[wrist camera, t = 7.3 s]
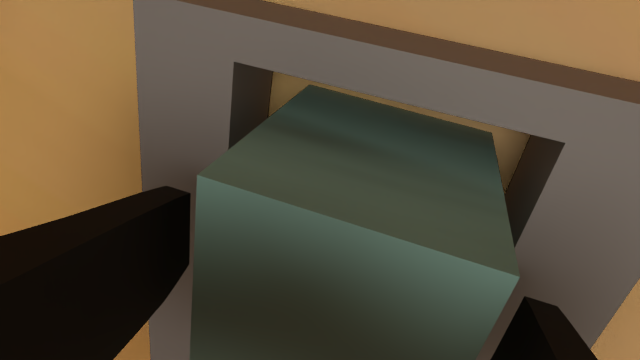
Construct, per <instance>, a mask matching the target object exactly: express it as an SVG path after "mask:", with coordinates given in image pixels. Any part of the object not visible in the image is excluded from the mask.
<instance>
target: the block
mask: <svg viewBox="0 0 640 360" xmlns="http://www.w3.org/2000/svg"><path fill="white" fill-rule="evenodd" d="M519 278H520V274H519V269H518V264H517V259H516V253H515V248H514V243H513V238H512V233H511V228H510V223H509V218H508V213H507V207H506V202H505V197H504V192H503V187H502V182H501V177H500V172H499V166H498V161H497V156H496V151H495V146H494V141H493V136H492V133H491V132H487V131H483V130H479V129H475V128H472V127H468V126H464V125H460V124H457V123H453V122H449V121H445V120H442V119H438V118H434V117H430V116H427V115H423V114H419V113H415V112H412V111H408V110H404V109H400V108H396V107H393V106H389V105H385V104H381V103H378V102H374V101H370V100H366V99H363V98H359V97H355V96H351V95H348V94H344V93H340V92H336V91H333V90H329V89H325V88H321V87H318V86H314V85H308V86H307V87H306V88H305V89H304V90H302V91H301V92H300V93H299V94H297V95H296V96H295V97H294V98H292V99H291V100H290V101H289V102H287V103H286V104H285V105H284V106H282V107H281V108H280V109H279V110H277V111H276V112H275V113H274V114H272V115H271V116H270V117H269V118H267V119H266V120H265V121H264V122H262V123H261V124H260V125H259V126H257V127H256V128H255V129H254V130H252V131H251V132H250V133H249V134H248V135H246V136H245V137H244V138H243V139H241V140H240V141H239V142H238V143H236V144H235V145H234V146H233V147H231V148H230V149H229V150H228V151H226V152H225V153H224V154H223V155H221V156H220V157H219V158H218V159H216V160H215V161H214V162H213V163H211V164H210V165H209V166H208V167H206V168H205V169H204V170H203V171H201V172H200V173H199V174H198V175H197V191H196V215H195V239H194V263H193V287H192V311H191V335H190V359H189V360H476V358H477V356H478V354H479V352H480V351H481V349H482V347H483V345H484V343H485V341H486V339H487V338H488V336H489V334H490V332H491V330H492V328H493V326H494V325H495V323H496V321H497V319H498V317H499V315H500V313H501V312H502V310H503V308H504V306H505V304H506V302H507V300H508V299H509V297H510V295H511V293H512V291H513V289H514V287H515V286H516V284H517V282H518V280H519Z"/></svg>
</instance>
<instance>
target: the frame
mask: <svg viewBox="0 0 640 360" xmlns="http://www.w3.org/2000/svg"><path fill="white" fill-rule="evenodd" d="M133 9H134V30H135V50H136V70H137V91H138V111H139V131H140V152H141V172H142V192H145V191H148V190H151V189H155V188H159V187H163V186H169V187H173V188H176V189H179V190H182V191H186V192H189V193H191V198H190V259H189V266H188V267H187V269H186V270H185V272H184V273H183V275H182V276H181V278H180V279H179V281H178V282H177V284H176V285H175V287H174V288H173V290H172V291H171V293H170V294H169V295H168V297H167V298H166V300H165V301H164V302H163V303H162V305H161V306H160V307H159V308H158V309H157V310H156V312H155V313H154V314H153V315H152V316H151V317H150V318H149V335H150V355H151V360H189V359H190V335H191V311H192V287H193V263H194V239H195V215H196V191H197V175H198V174H199V173H200V172H201V171H203V170H204V169H205V168H206V167H208V166H209V165H210V164H211V163H213V162H214V161H215V160H216V159H218V158H219V157H220V156H221V155H223V154H224V153H225V152H226V151H228V150H229V149H230V148H231V147H233V146H234V145H235V144H236V143H238V142H239V141H240V140H241V139H243V138H244V137H245V136H246V135H248V134H249V133H250V132H251V131H252V130H254V129H255V128H256V127H257V126H259V125H260V124H261V123H262V122H264V121H265V120H266V119H267V118H268V109H269V100H270V91H271V81H272V72H273V71H275V72H279V73H283V74H287V75H291V76H295V77H299V78H303V79H307V80H311V81H315V82H319V83H323V84H328V85H332V86H336V87H340V88H344V89H348V90H352V91H356V92H360V93H364V94H368V95H372V96H376V97H381V98H385V99H389V100H393V101H397V102H401V103H405V104H409V105H413V106H417V107H421V108H425V109H429V110H433V111H438V112H442V113H446V114H450V115H454V116H458V117H462V118H466V119H470V120H474V121H478V122H482V123H486V124H490V125H495V126H499V127H503V128H507V129H511V130H515V131H519V132H523V133H527V134H531V136H530V139H529V141H528V143H527V146H526V148H525V150H524V153H523V155H522V157H521V159H520V162H519V164H518V166H517V169H516V171H515V173H514V175H513V178H512V180H511V182H510V185H509V187H508V189H507V192H506V194H505V196H504V197H505V202H506V207H507V213H508V218H509V223H510V228H511V233H512V238H513V243H514V248H515V253H516V259H517V264H518V269H519V274H520V278H519V280H518V282H517V284H516V286H515V287H514V289H513V291H512V293H511V295H510V297H509V299H508V300H507V302H506V304H505V306H504V308H503V310H502V312H501V313H500V315H499V317H498V319H497V321H496V323H495V325H494V326H493V328H492V330H491V332H490V334H489V336H488V338H487V339H486V341H485V343H484V345H483V347H482V349H481V351H480V352H479V354H478V356H477V358H476V360H491V358H492V356H493V354H494V352H495V350H496V349H497V347H498V345H499V343H500V341H501V339H502V337H503V335H504V334H505V332H506V330H507V328H508V326H509V324H510V322H511V320H512V319H513V317H514V315H515V313H516V311H517V309H518V307H519V305H520V303H521V302H522V300H523V298H524V296H526V297H529V298H533V299H536V300H539V301H542V302H546V303H549V304H552V305H555V306H558V307H559V309H560V310H561V311H562V312H563V314H564V315H565V316H566V317H567V319H568V320H569V321H570V323H571V324H572V325H573V327H574V328H575V329H576V331H577V332H578V334H579V335H580V336H581V338H582V339H583V340H584V342H585V343H586V344H587V346H588V347H589V349H591V347H592V346H593V344H594V343H595V342H596V340H597V339H598V337H599V336H600V334H601V333H602V332H603V330H604V329H605V327H606V326H607V324H608V323H609V321H610V320H611V319H612V317H613V316H614V314H615V313H616V311H617V310H618V308H619V307H620V306H621V304H622V303H623V301H624V300H625V298H626V297H627V295H628V294H629V293H630V291H631V290H632V288H633V287H634V285H635V284H636V282H637V281H638V280H639V278H640V82H636V81H632V80H627V79H623V78H618V77H613V76H609V75H604V74H599V73H595V72H590V71H586V70H581V69H576V68H572V67H567V66H562V65H558V64H553V63H549V62H544V61H539V60H535V59H530V58H525V57H521V56H516V55H512V54H507V53H502V52H498V51H493V50H488V49H484V48H479V47H475V46H470V45H465V44H461V43H456V42H451V41H447V40H442V39H437V38H433V37H428V36H424V35H419V34H414V33H410V32H405V31H400V30H396V29H391V28H387V27H382V26H377V25H373V24H368V23H363V22H359V21H354V20H350V19H345V18H340V17H336V16H331V15H326V14H322V13H317V12H313V11H308V10H303V9H299V8H294V7H289V6H285V5H280V4H276V3H271V2H266V1H262V0H133Z"/></svg>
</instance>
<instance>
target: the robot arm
mask: <svg viewBox="0 0 640 360" xmlns="http://www.w3.org/2000/svg"><path fill="white" fill-rule="evenodd" d="M190 198H191V193H189V192H186V191H182V190H179V189H176V188H173V187H169V186H163V187H159V188H155V189H151V190H148V191H145V192H141V193H138V194H135V195H132V196H129V197H126V198H123V199H120V200H117V201H114V202H111V203H108V204H105V205H102V206H99V207H96V208H92V209H89V210H86V211H83V212H80V213H77V214H74V215H71V216H68V217H65V218H61V219H58V220H55V221H51V222H48V223H44V224H41V225H38V226H34V227H31V228H27V229H24V230H20V231H17V232H14V233H10V234H7V235H3V236H0V360H113V359H114V358H115V357H116V356H117V355H118V353H119V352H120V351H121V350H122V349H123V348H124V347H125V346H126V344H127V343H128V342H129V341H130V340H131V339H132V338H133V337H134V335H135V334H136V333H137V332H138V331H139V330H140V329H141V328H142V326H143V325H144V324H145V323H146V322H147V321H148V320H149V318H150V317H151V316H152V315H153V314H154V313H155V312H156V310H157V309H158V308H159V307H160V306H161V305H162V303H163V302H164V301H165V300H166V298H167V297H168V295H169V294H170V293H171V291H172V290H173V288H174V287H175V285H176V284H177V282H178V281H179V279H180V278H181V276H182V275H183V273H184V272H185V270H186V269H187V267H188V266H189V259H190ZM491 360H598V359H597V358H596V357H595V355H594V354H593V353H592V351H591V350H590V349H589V347H588V346H587V344H586V343H585V342H584V340H583V339H582V338H581V336H580V335H579V334H578V332H577V331H576V329H575V328H574V327H573V325H572V324H571V323H570V321H569V320H568V319H567V317H566V316H565V315H564V314H563V312H562V311H561V310H560V309H559V307H558V306H555V305H552V304H549V303H546V302H542V301H539V300H536V299H533V298H529V297H526V296H524V298H523V300H522V302H521V303H520V305H519V307H518V309H517V311H516V313H515V315H514V317H513V319H512V320H511V322H510V324H509V326H508V328H507V330H506V332H505V334H504V335H503V337H502V339H501V341H500V343H499V345H498V347H497V349H496V350H495V352H494V354H493V356H492V358H491Z"/></svg>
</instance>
